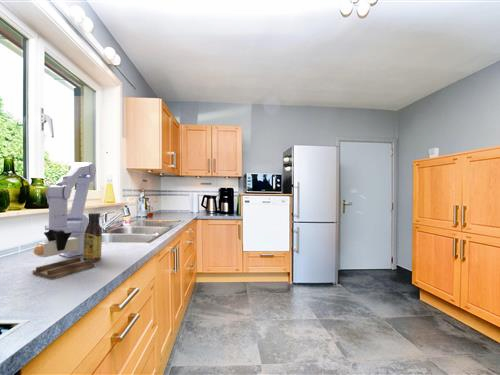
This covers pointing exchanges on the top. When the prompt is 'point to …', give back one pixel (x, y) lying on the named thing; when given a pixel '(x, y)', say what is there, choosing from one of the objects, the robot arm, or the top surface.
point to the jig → (63, 268)
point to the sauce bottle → (93, 238)
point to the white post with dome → (55, 248)
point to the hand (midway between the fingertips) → (57, 249)
